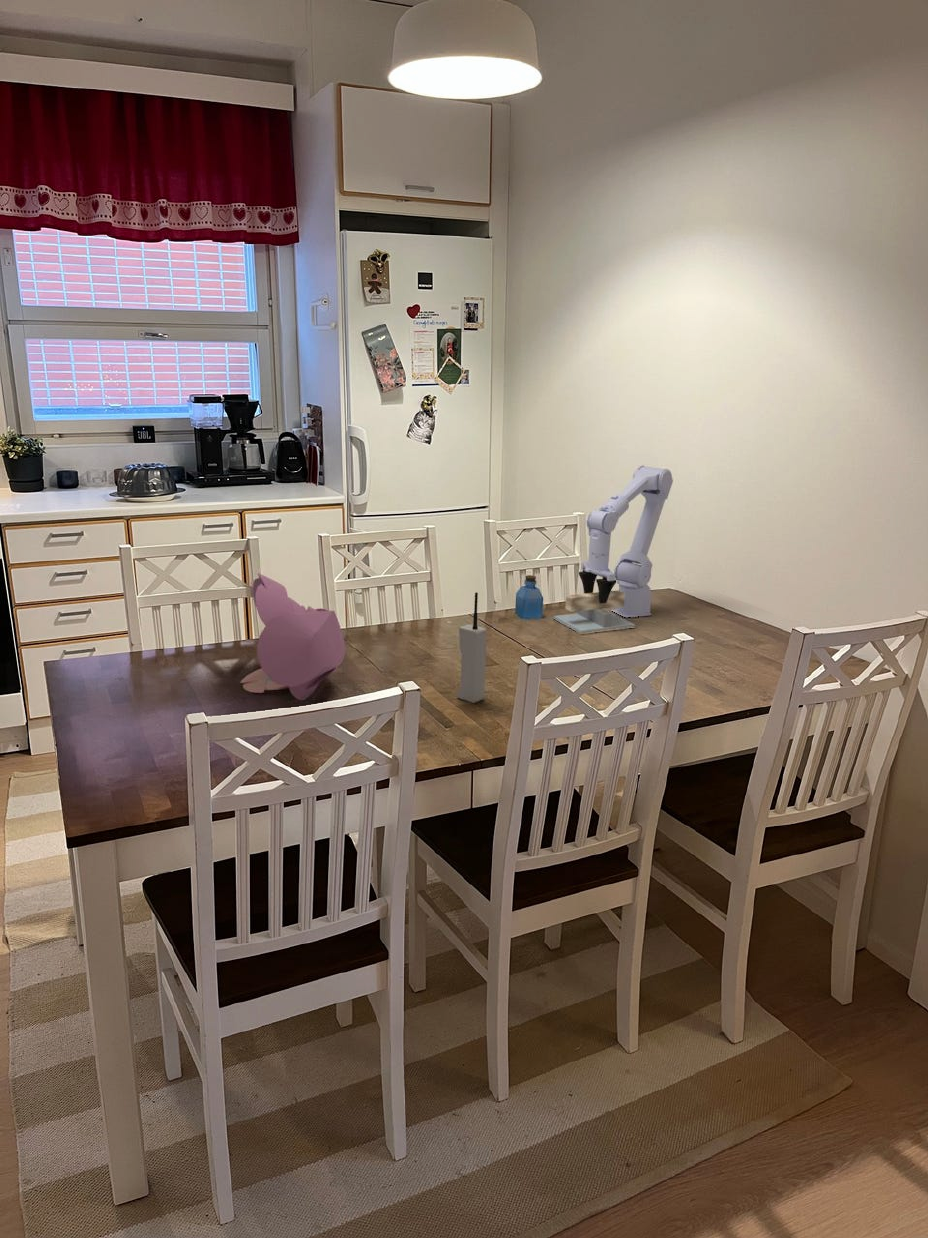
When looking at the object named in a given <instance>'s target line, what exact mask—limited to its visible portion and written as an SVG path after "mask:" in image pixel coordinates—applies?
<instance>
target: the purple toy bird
mask: <svg viewBox="0 0 928 1238" xmlns="http://www.w3.org/2000/svg"><path fill="white" fill-rule="evenodd" d="M257 575H258V577H257V578H255V579H254V580H253V582H252V583H253V584H252V594H253V595H252V596H253V600H254V605H255V607H256V611H257V614H258V617H259V618H260V620H261V622H262V623H263V624H264V626H265V627H263V630H262V631H261V632H260V635H259V638H258V641H257V647H256V650H257V651H256V652H257V658H258V663H259V665H260V667H261V668H259V669H257V670H255V671H253V672H251V673H249V674H247V675H246V676H245V677H244V678H242V679H241V681H240V684H242V687H243V690H245V691H247V692H250V693H259V694H261V693H265V690H266V691H274V690H281V689H282V690H283V689H289V691H290V694H291V695H292V696H293V697H294V698H295V699H297V700H298V701H305V700H307V699H309V698H310V697H311V696H312V695H313V694H314V692H315V691H316V689H317V688H318V686H319V685H320V683H321V682H322V681H324V680H325V679H326V678H327V677H328V676H330V674H332V673H333V672H334V671H335V670H336V669H337V667H339V665H341V663H342V662H343V661H344V658H345V655H346V644H345V640H344V639H345V638H344V634H343V631H342V629H341V625H340V622H339V619H338V617H337V614H336V611H335V610H327V609H325V608H313V607H312V606H310V605H308V606H307V609H306V607H305V606H304V605H300V603H298V602H297V601H295V600H294V599H292V598H291V597H289V596H288V591H287V589H286V587H285V585H284V584H281V583H279V582H278V581H275V580H274V579H272V578H269V577H267V576H265V575H264V574H261V573H259V572H257ZM311 694H312V695H311ZM310 695H311V696H310ZM309 696H310V697H309ZM306 698H307V699H306Z"/></svg>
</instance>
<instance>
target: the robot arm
mask: <svg viewBox="0 0 928 1238" xmlns="http://www.w3.org/2000/svg"><path fill="white" fill-rule="evenodd" d="M673 482H674V479H673V475H672V471H671V470H670V469H668V468H658V467H652V466H645V465H639V466H638V467H637V469H636V470H634V471H633V475H632V479H631V480H630V482H629V483H628V484H627V485H626V487H625V488H623V490H622V491H621V493H620V494H619V493H616V494H612V495H611V496H610V498H608V500H607V501H606V502H605V503H604V504H603V505H602V506H601V507H599V509H595V510H593V511H591V512H590V513H589V515H588V516H587V520H586V527H587V530H588V531H587V532H588V536H589V544H588V545H589V547H588V549H589V550H588V558H587V559H588V562H585V561H584V562H581V563H580V564H581V566H580V569H581V570H582V571H579V572H578V576H579V578H580V580H581V583H582V588H583V594H586V593H594V587H595V584H597V585H596V586H597V588H598V589H597V590H598V592H599V603H607V600H608V597H609V594H610V592H611V591H613V590H612V589H613V588H614V586H615V585H616V584H618V590H620V591H622V592H625V602H624V606H621V607H616V608H612V609H611V610H610V612H612V611H613V612H612V613H614V612H615V613H614V614H616V613H617V614H616V615H618V614H619V616H620V615H621V616H620V617H622V616H623V618H624V617H626V618H625V619H629V618H628V617H631V618H638V616H639V617H646V616H652V613H651V604H652V590H651V587H650V586H649V585H648V583H649V582H650V580H651V578H652V568H653V563H652V562H651V560H650V559H649V557H648V553H649V550H650V547H651V544H652V541H653V539H654V535H655V532H656V529H657V526H658V523H659V520H660V518H661V515H662V510H663V508H664V506H665V502H666V500H667V499H668V497H669V494H670V492H671V489H672V485H673ZM639 495H641V496H643V497H644V499H645V503H644V506H643V510H642V511H641V512H642V513H641V515H640V518H639V522H638V523H637V524H638V525H637V527H636V531H635V534H634V537H633V540H632V542H631V546H630V548H629V551H627V552H624V553H623V554H621V555H620V558H619V560H618V561H617V563H616V565H615V566H614V569H613V572H612V571H611V569H609V562H610V561H609V560H610V549H611V537H612V536H611V535H612V534H611V533H612V532H613V531H614V530H615V529H616V526H617V523H618V522H619V520H620V518H621V517H622V516H623V515H624V514H625V513H626V511H628V509H629V507H630V502H632V501H634V499H636V497H637V496H639ZM598 576H599V577H600V578H597V577H598Z"/></svg>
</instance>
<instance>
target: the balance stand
mask: <svg viewBox="0 0 928 1238" xmlns="http://www.w3.org/2000/svg"><path fill="white" fill-rule="evenodd" d="M554 619H555V620H557V621H559V622H560V623H562V624H564V625H566V626H568V627H570V628H572V629H574V630H576V631H577V632H580V633H586V632H592V631H600V630H607V629H616V628H626V627H634V626H635V627H636V624H635V623H632V622H631V621H628V620H627V619H626V618H624V617H623V618H622V616H620V615H619V616H618V615H617V614H615V613H613V612H611V611H608V610H606V609H604V608H602V609H593V610H583V611H577V612H576V613H569V614H560V615H559V614H558V615H553V620H554ZM555 620H554V621H555ZM560 623H559V624H560ZM562 624H561V625H562ZM564 625H563V626H564Z"/></svg>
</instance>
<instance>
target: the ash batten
mask: <svg viewBox="0 0 928 1238" xmlns="http://www.w3.org/2000/svg"><path fill="white" fill-rule="evenodd" d="M624 602H625V592H622V591H620V590H619V589H618V590H611V592H610V594H609V597H608V600H607V603H599V591H597V592H593V593H586V594H584V593H579V594H578V593H576V594H569V595H565V607H564V609H565V610H566V611H569V612H570V613H571V612H578V611H583V610H593V609H608V608H609V609H611V608H617V607H621V606H624Z"/></svg>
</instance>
